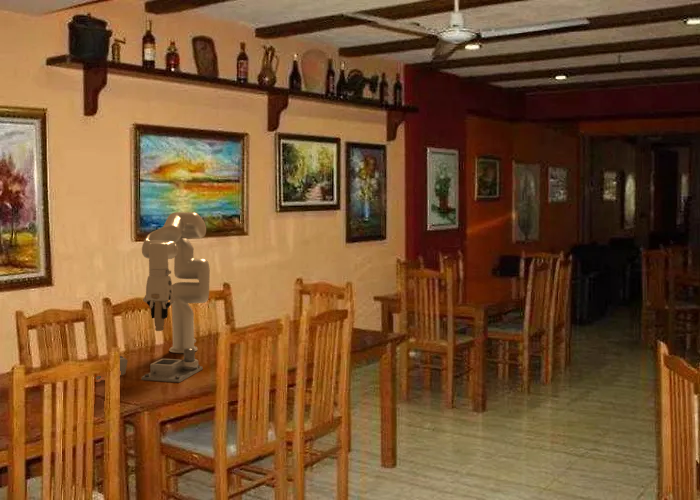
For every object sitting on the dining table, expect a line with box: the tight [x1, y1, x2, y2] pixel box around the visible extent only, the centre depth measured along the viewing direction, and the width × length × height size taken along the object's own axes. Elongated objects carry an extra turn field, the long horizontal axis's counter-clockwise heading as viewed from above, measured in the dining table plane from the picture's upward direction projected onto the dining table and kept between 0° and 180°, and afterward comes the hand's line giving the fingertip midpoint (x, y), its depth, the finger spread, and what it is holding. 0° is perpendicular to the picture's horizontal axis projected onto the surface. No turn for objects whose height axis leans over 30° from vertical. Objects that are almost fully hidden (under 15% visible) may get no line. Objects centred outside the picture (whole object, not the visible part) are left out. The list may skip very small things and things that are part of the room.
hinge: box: [96, 355, 128, 380], centre depth 311 cm, size 17×5×10 cm, turn 155°
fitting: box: [141, 348, 203, 383], centre depth 317 cm, size 22×16×9 cm
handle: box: [151, 294, 165, 332], centre depth 318 cm, size 5×6×15 cm
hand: (159, 317), depth 318 cm, fingers closed on handle, 3 cm apart
